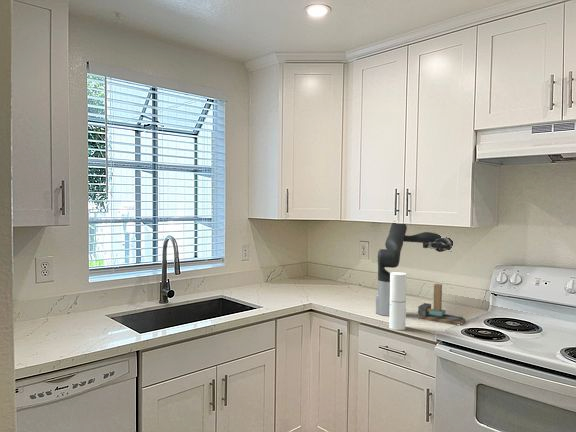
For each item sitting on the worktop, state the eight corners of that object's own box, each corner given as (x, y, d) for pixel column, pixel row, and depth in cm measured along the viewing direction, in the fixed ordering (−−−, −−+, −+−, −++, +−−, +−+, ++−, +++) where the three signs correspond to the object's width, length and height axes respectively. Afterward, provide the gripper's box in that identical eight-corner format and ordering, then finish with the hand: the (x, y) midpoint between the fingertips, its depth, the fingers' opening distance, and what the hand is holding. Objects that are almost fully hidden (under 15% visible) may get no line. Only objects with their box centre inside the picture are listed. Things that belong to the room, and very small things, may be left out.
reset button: (424, 313, 213) (424, 308, 213) (426, 312, 215) (426, 307, 215) (430, 314, 211) (430, 309, 211) (432, 313, 213) (432, 308, 213)
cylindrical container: (398, 331, 190) (399, 275, 190) (385, 327, 196) (386, 273, 195) (408, 328, 195) (409, 273, 194) (396, 324, 200) (397, 271, 199)
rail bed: (418, 318, 211) (418, 306, 211) (424, 314, 219) (424, 303, 218) (460, 325, 199) (460, 313, 199) (465, 321, 207) (465, 309, 206)
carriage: (428, 314, 209) (429, 284, 209) (433, 311, 215) (434, 282, 214) (441, 316, 206) (442, 286, 205) (445, 313, 211) (446, 284, 211)
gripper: (429, 237, 244) (419, 239, 231) (455, 238, 235) (446, 240, 222) (429, 250, 244) (419, 252, 231) (455, 252, 236) (446, 254, 223)
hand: (432, 246), depth 227 cm, fingers open, 8 cm apart
